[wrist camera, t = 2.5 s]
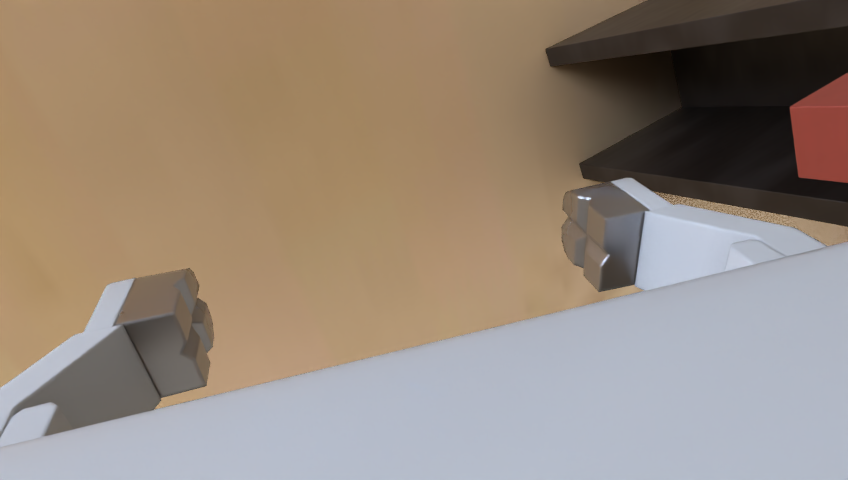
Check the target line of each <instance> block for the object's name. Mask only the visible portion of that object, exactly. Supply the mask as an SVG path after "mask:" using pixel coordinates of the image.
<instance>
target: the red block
mask: <svg viewBox="0 0 848 480" xmlns="http://www.w3.org/2000/svg"><path fill="white" fill-rule="evenodd" d="M790 115H791V123H792V131H793V138H794V146H795V154H796V161H797V169H798V176H799V177H800V178H808V179H817V180H825V181H834V182H843V183H848V73H846V74H845V75H843V76H841V77H839V78H838V79H836V80H834V81H833V82H831V83H829V84H827V85H826V86H824V87H822V88H821V89H819V90H817V91H816V92H814V93H812V94H810V95H809V96H807V97H805V98H804V99H802V100H800V101H798V102H797V103H795V104H793V105H792V106H790Z"/></svg>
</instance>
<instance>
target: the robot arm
mask: <svg viewBox="0 0 848 480" xmlns="http://www.w3.org/2000/svg"><path fill="white" fill-rule="evenodd" d="M563 211H564V212H565V213H566V214H567V216H568V218H567V220H566V221H565V223H564V224H563V226H562V243H563V247H564V251H565V253H566V255H567V257H568V259H569V260H570V261H571V262H572V263H573V264H574V265H576V266H579V267H582V268H584V276H585V278H586V279H587V280H588V281H589V282H590V283H591V284H592V285H593V286H594V287H595V288H596V289H597V291H598V292H602V291H606V290H611V289H616V288H621V287H625V286H630V285H635V286H636V287H638V288H640V289H642V290H644V291H642V292H638V293H633V294H629V295H625V296H621V297H617V298H613V299H609V300H605V301H600V302H596V303H592V304H588V305H584V306H580V307H576V308H572V309H568V310H563V311H559V312H555V313H551V314H547V315H543V316H539V317H535V318H530V319H526V320H522V321H518V322H514V323H510V324H506V325H502V326H497V327H493V328H489V329H485V330H481V331H477V332H473V333H469V334H465V335H460V336H456V337H452V338H448V339H444V340H440V341H436V342H432V343H427V344H423V345H419V346H415V347H411V348H407V349H403V350H399V351H394V352H390V353H386V354H382V355H378V356H374V357H370V358H366V359H361V360H357V361H353V362H349V363H345V364H341V365H337V366H333V367H328V368H324V369H320V370H316V371H312V372H308V373H304V374H300V375H296V376H291V377H287V378H283V379H279V380H275V381H271V382H267V383H263V384H258V385H254V386H250V387H246V388H242V389H238V390H234V391H230V392H225V393H221V394H217V395H213V396H209V397H205V398H201V399H197V400H192V401H188V402H184V403H180V404H176V405H172V406H168V407H164V408H159V409H155V407H156V406H157V405H158V404H159V402H160V401H161V398H163V397H167V396H170V395H174V394H178V393H182V392H185V391H189V390H193V389H197V388H200V387H204V386H207V379H208V373H209V367H210V360H209V358H208V355H207V352H208V351H209V350H210V349H211V348H212V347H213V341H214V332H213V323H212V319H211V315H210V312H209V309H208V306H207V304H206V303H205V302H203V301H202V300H200V299H199V298H197V295H198V291H199V284H198V281H197V279H196V277H195V274H194V272H193V271H192V270H191V269H190V268H187V269H182V270H177V271H171V272H166V273H161V274H155V275H150V276H144V277H139V278H132V279H127V280H123V281H119V282H114V283H111V284H108V285H107V286H106V288H105V290H104V292H103V294H102V296H101V298H100V300H99V302H98V304H97V306H96V308H95V310H94V312H93V314H92V316H91V318H90V320H89V322H88V324H87V326H86V328H85V330H84V332H83V333H80V334H76V335H73V336H72V337H71V338H69V339H68V340H67V341H65V342H64V343H62V344H61V345H60V346H58V347H57V348H55V349H54V350H53V351H51V352H50V353H48V354H47V355H46V356H44V357H43V358H41V359H40V360H39V361H37V362H36V363H35V364H33V365H32V366H30V367H29V368H28V369H26V370H25V371H23V372H22V373H21V374H19V375H18V376H16V377H15V378H14V379H12V380H11V381H10V382H8V383H7V384H5V385H4V386H3V387H1V388H0V480H848V242H844V243H840V244H836V245H832V246H826V245H825V244H823V243H821V242H819V241H818V240H816V239H814V238H812V237H810V236H809V235H807V234H805V233H803V232H801V231H800V230H798V229H796V228H794V227H789V226H784V225H779V224H774V223H769V222H765V221H760V220H755V219H750V218H745V217H740V216H735V215H730V214H726V213H721V212H716V211H711V210H706V209H701V208H696V207H692V206H687V205H682V204H677V205H672V204H670V203H669V202H667V201H666V200H664V199H663V198H661V197H660V196H658V195H657V194H655V193H654V192H652V191H651V190H649V189H648V188H646V187H645V186H643V185H642V184H640V183H639V182H637V181H636V180H634V179H633V178H623V179H619V180H615V181H611V182H605V183H601V184H597V185H592V186H588V187H584V188H579V189H575V190H571V191H568V192H566V193H565V196H564V199H563ZM154 409H155V410H154Z"/></svg>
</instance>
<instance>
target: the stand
mask: <svg viewBox="0 0 848 480" xmlns="http://www.w3.org/2000/svg"><path fill="white" fill-rule="evenodd" d="M669 50H670V51H671V56H672V60H673V65H674V70H675V75H676V80H677V85H678V89H679V94H680V99H681V104H682V108H680V109H678V110H676V111H675V112H673V113H671V114H669V115H667V116H665V117H664V118H662V119H660V120H658V121H656V122H655V123H653V124H651V125H649V126H647V127H646V128H644V129H642V130H640V131H638V132H636V133H635V134H633V135H631V136H629V137H627V138H626V139H624V140H622V141H620V142H618V143H616V144H615V145H613V146H611V147H609V148H607V149H606V150H604V151H602V152H600V153H598V154H596V155H595V156H593V157H591V158H589V159H587V160H586V161H584V162H582V163H580V164H579V165H580V168H581V171H582V175H583V178H584V179H590V180H595V181H601V182H611V181H615V180H619V179H623V178H633V179H634V180H636V181H637V182H639V183H640V184H642V185H643V186H645V187H646V188H648V189H649V190H651V191H655V192H661V193H666V194H672V195H677V196H683V197H688V198H694V199H699V200H705V201H710V202H716V203H721V204H727V205H732V206H738V207H743V208H749V209H754V210H760V211H765V212H770V213H776V214H781V215H787V216H792V217H798V218H803V219H809V220H814V221H820V222H825V223H831V224H836V225H842V226H847V227H848V183H843V182H834V181H825V180H817V179H808V178H800V177H799V176H798V169H797V161H796V154H795V146H794V138H793V131H792V123H791V115H790V106H792V105H793V104H795V103H797V102H798V101H800V100H802V99H804V98H805V97H807V96H809V95H810V94H812V93H814V92H816V91H817V90H819V89H821V88H822V87H824V86H826V85H827V84H829V83H831V82H833V81H834V80H836V79H838V78H839V77H841V76H843V75H845V74H846V73H848V0H647V1H645V2H643V3H641V4H638V5H636V6H634V7H632V8H630V9H628V10H626V11H624V12H622V13H620V14H618V15H615V16H613V17H611V18H609V19H607V20H605V21H603V22H601V23H599V24H597V25H595V26H593V27H590V28H588V29H586V30H584V31H582V32H580V33H578V34H576V35H574V36H572V37H570V38H567V39H565V40H563V41H561V42H559V43H557V44H555V45H553V46H551V47H549V48H547V49H546V53H547V56H548V59H549V63H550V66H558V65H565V64H572V63H580V62H587V61H595V60H602V59H610V58H617V57H624V56H632V55H639V54H647V53H654V52H662V51H669Z"/></svg>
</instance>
